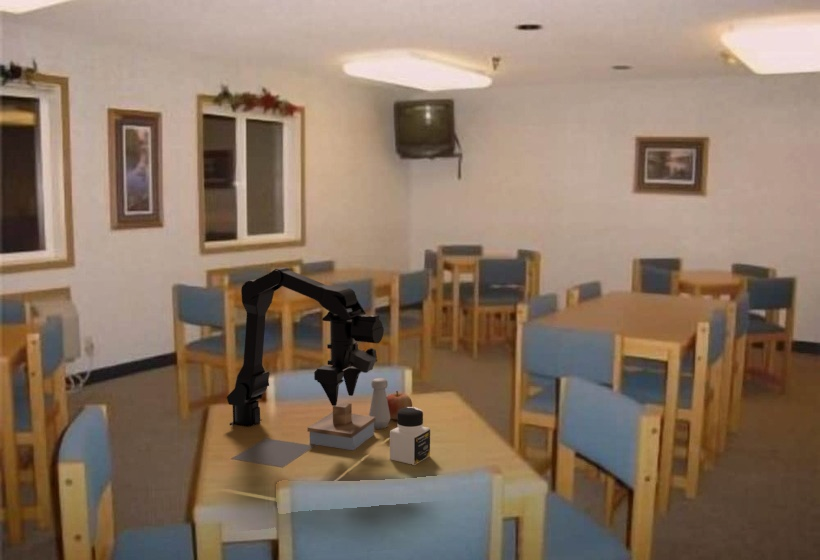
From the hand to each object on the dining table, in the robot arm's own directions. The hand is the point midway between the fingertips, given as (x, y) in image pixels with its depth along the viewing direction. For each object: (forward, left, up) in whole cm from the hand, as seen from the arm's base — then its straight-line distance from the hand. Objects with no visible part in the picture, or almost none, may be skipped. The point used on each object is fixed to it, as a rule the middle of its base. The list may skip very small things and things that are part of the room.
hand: (342, 400), depth 192 cm
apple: (+6, +22, -11) cm, 25 cm away
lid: (0, 0, -7) cm, 7 cm away
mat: (-11, -14, -11) cm, 21 cm away
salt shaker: (+4, +14, -11) cm, 18 cm away
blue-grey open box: (0, 0, -11) cm, 11 cm away
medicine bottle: (+20, -4, -11) cm, 23 cm away
